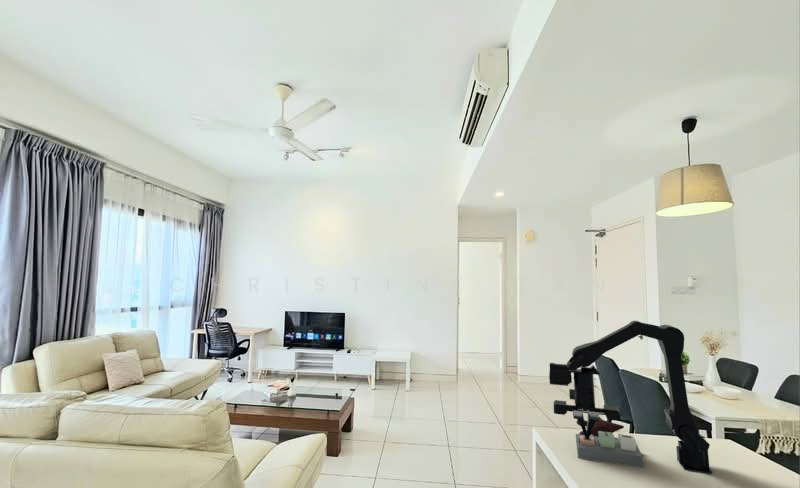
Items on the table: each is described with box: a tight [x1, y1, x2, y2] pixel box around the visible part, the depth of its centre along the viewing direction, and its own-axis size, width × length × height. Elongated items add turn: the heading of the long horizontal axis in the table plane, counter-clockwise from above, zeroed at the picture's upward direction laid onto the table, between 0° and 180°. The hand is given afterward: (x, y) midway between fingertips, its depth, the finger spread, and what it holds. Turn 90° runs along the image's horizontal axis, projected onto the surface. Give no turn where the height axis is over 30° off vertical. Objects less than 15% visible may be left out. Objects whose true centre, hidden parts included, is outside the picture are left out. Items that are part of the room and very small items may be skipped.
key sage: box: [598, 431, 616, 448], centre depth 116 cm, size 4×4×4 cm
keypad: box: [575, 433, 645, 468], centre depth 116 cm, size 17×11×3 cm, turn 68°
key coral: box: [580, 436, 595, 446], centre depth 118 cm, size 4×4×4 cm
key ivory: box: [617, 433, 637, 451], centre depth 114 cm, size 4×4×4 cm
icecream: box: [576, 416, 625, 437], centre depth 129 cm, size 7×7×15 cm
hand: (587, 438), depth 118 cm, fingers closed, pressing on key coral
